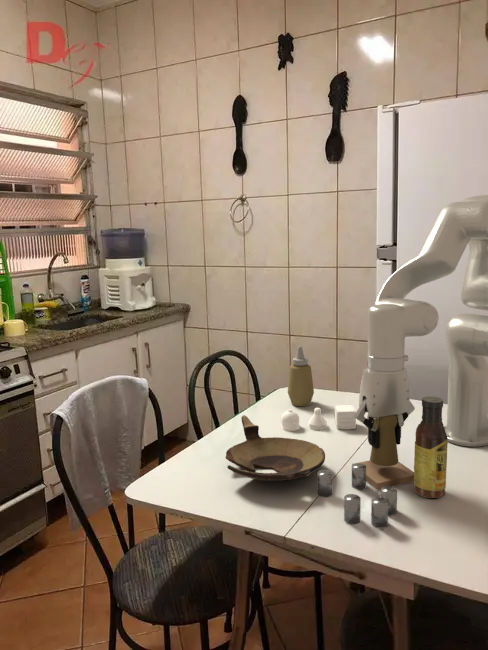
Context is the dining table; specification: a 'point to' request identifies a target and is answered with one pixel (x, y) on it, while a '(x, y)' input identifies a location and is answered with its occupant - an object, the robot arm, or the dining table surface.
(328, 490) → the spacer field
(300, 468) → the broken ceramic bowl
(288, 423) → the container set
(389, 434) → the olive pawn
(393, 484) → the walnut board
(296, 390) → the squeeze bottle
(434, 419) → the sauce bottle
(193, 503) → the dining table surface
